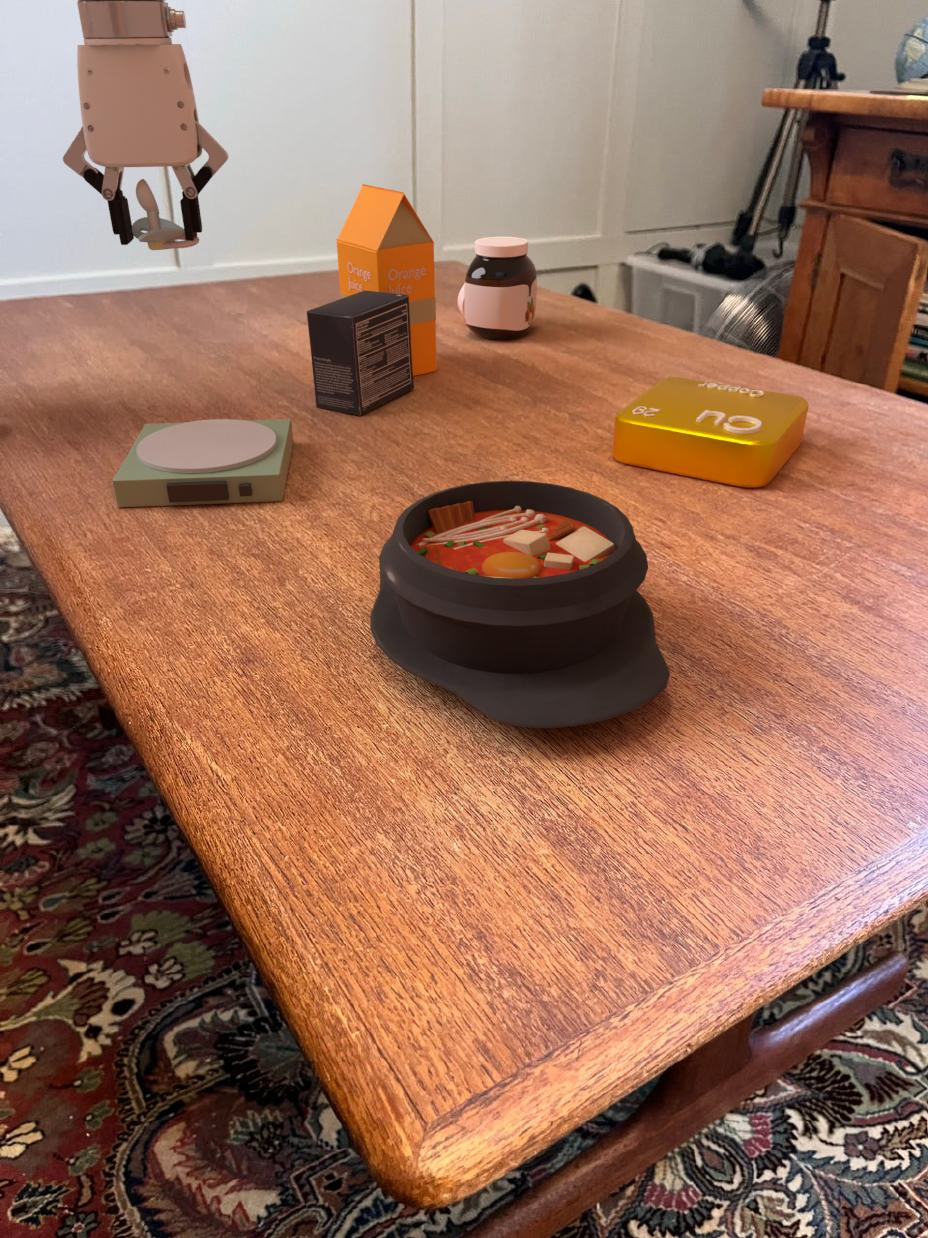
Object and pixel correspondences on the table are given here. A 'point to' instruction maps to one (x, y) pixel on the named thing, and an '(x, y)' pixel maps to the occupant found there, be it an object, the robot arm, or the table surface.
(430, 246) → the orange juice
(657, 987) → the table surface
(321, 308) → the small box
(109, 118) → the robot arm
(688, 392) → the element tile
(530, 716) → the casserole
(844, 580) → the table surface
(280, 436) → the scale
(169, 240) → the pacifier
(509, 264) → the spread jar
